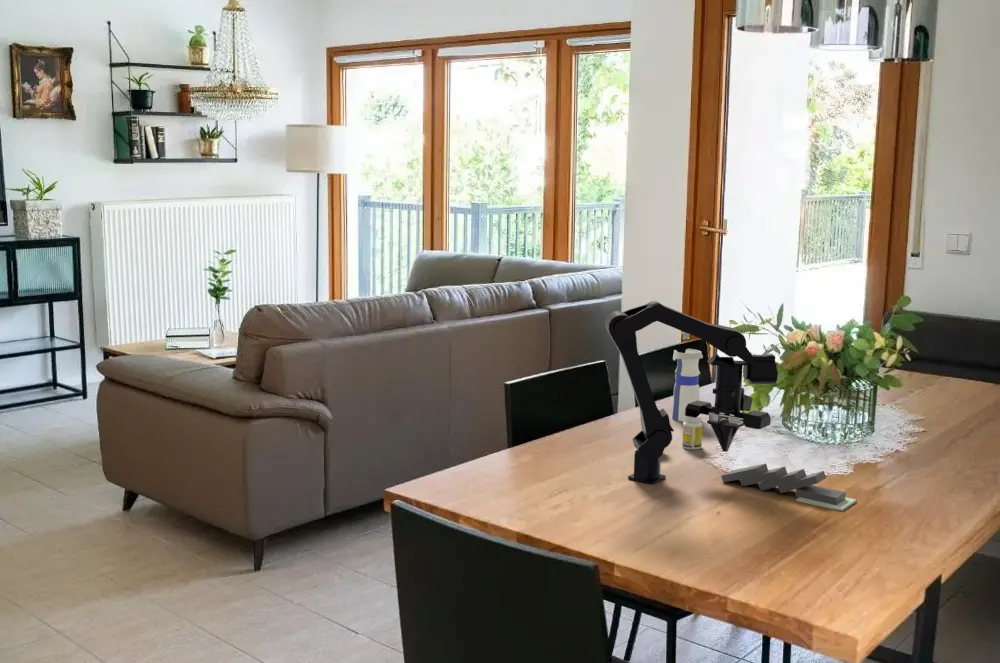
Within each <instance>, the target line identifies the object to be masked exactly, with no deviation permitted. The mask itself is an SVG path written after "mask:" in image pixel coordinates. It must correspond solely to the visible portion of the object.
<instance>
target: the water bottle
mask: <svg viewBox="0 0 1000 663" xmlns="http://www.w3.org/2000/svg"><path fill="white" fill-rule="evenodd" d="M680 334H681V335H682V340H685V339H687V340H690V339H691V338H690V334H688V333H685V332H683V331H681V332H680ZM703 358H704V356H703V354H702V351H701V350H698V349H694V348H686V349H685V352H679V351H678V350H676V349H674V350H673V356H672V361H676V363H677V365H676V369H675V371H674V373H675V374H674V379H675V383H674V387H673V400H672V411H671V412H672V413H671V419H672V420H674V421H676V422H682V423H684V422H685V408H686V405H687V404H689V403H692V402H694V401H697V400H698V401H700V385H699V377H700V376H699V375H701V372H700V370H699V362H700V359H703Z"/></svg>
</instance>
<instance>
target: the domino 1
mask: <svg viewBox="0 0 1000 663" xmlns="http://www.w3.org/2000/svg"><path fill="white" fill-rule="evenodd" d="M768 470H769V469H768V465H767V463H763V464H761V463H760V464H756V465H752V466H748V467H742V468H738V469H734V470H730V471H728V472H726V473H723V474H722V475H721V476H720V477H721V480H722V483H728V482H732V481H733V482H734V481H737V480H740V479H743V478H748V477H753V476H758V475H760V474H762V473H764V472H766V471H768Z"/></svg>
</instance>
